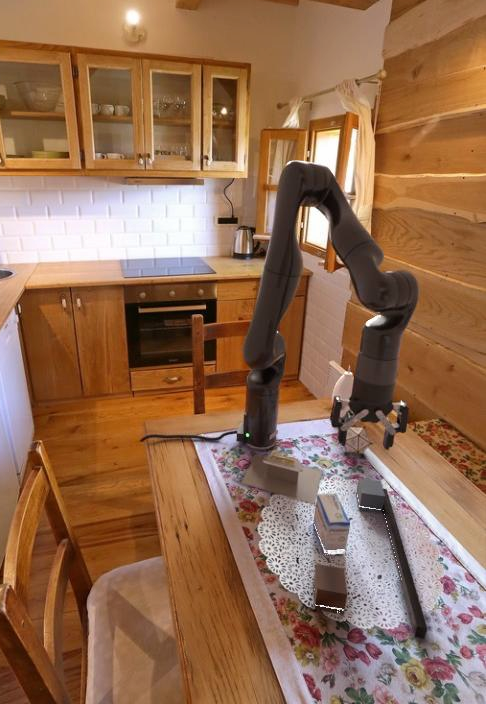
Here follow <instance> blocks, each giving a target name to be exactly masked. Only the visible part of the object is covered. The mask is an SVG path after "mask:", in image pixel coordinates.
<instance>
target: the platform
mask: <svg viewBox="0 0 486 704" xmlns="http://www.w3.org/2000/svg"><path fill="white" fill-rule="evenodd" d="M322 474H323V471H321V470H317V469H313V468H310V467H306V466H304V465H303V464H302V463H301V461H300V460H299V459H298V458H296V457H295V455H292V454H289V453H284V452H280V451H277V450H272V452H269V453H268V454H267V455H265V456H264V455H260V454H255V453H254V456H253V458H252V460H251V462H250V464H249V465H248V468H247V469H246V472H245V475H244V476H243V479H242V480H241V484H243V485H246V486H249V487H253V488H257V489H260V490H263V491H266V492H270V493H274V494H277V495H281V496H284V497H288V498H291V499H294V500H298V501H302V502H304V503H309V504H312V503H313V505H315V504H316V502H315V501H316V500H317V495H318V493H319V488H320V484H321V479H322ZM314 503H315V504H314Z"/></svg>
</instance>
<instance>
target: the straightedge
mask: <svg viewBox="0 0 486 704" xmlns="http://www.w3.org/2000/svg"><path fill="white" fill-rule="evenodd" d="M383 491H384V494H385V499H384V504H383V509H382V517H383V520H384V524H385V529H386V531H387V536H388V540H389V544H390V547H391V551H392V555H393V559H394V563H395V567H396V571H397V574H398V579H399V582H400V586H401V590H402V595H403V598H404V602H405V606H406V610H407V614H408V618H409V620H410V621H409V622H410V626H411V629H412V632H413V636H414V638H419V639H425V638H426V635H427V631H428V626H427V622H426V618H425V616H424V612H423V609H422V605H421V602H420V599H419V595H418V590H417V588H416V585H415V582H414V578H413V575H412V571H411V568H410V564H409V561H408V557H407V554H406V551H405V547H404V544H403V541H402V537H401V532H400V530H399V526H398V523H397V519H396V515H395V512H394V509H393V506H392V502H391V499H390V495H389V493H388V489H387V488H383ZM383 510H384V511H383ZM384 514H385V515H384ZM385 518H386V519H385ZM386 521H387V523H386ZM387 525H388V527H387ZM388 529H389V530H388ZM389 533H390V534H389ZM390 536H391V538H390ZM391 540H392V542H391ZM392 544H393V545H392ZM393 548H394V549H393ZM394 552H395V553H394ZM395 556H396V557H395ZM396 559H397V561H396ZM397 563H398V564H397ZM398 566H399V568H398ZM399 571H400V572H399ZM400 574H401V576H400ZM401 578H402V580H401Z"/></svg>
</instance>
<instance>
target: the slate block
mask: <svg viewBox="0 0 486 704" xmlns="http://www.w3.org/2000/svg"><path fill="white" fill-rule="evenodd" d="M383 489H384V488H383V484H382V480H377V479H371V478H370V479H369V478H361V477H358V480H357V486H356V491H357V492H356V491H355V497H356V503H357V508H358V511H361V512H368V513H375V514H382V515H383V513H382V509H383V504H384V499H385V494H384V491H383ZM357 494H358V497H357ZM358 499H359V502H358ZM359 505H360V506H364V507H370V508H376V509H381V510H376V509H369V508H362V507H359Z"/></svg>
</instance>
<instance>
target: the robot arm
mask: <svg viewBox="0 0 486 704" xmlns="http://www.w3.org/2000/svg"><path fill="white" fill-rule="evenodd" d="M301 207H304V208H315V209H316V210H317V211H319V212H320V213H321V214H322V215H323V217H325V219H326V220H327V223H328V236H329V242H330V245H331V247H332V249H333V251H334V253H335V254H336V255H337V257H338V258H339V260H340V261H341V263H342V264H343V265H344V267H345V268H346V269H347V271H348V274H349V279H350V280H351V284H352V286H353V290H354V293H355V296H356V298H357V301H358V302H359V304H360V305H361V306H362V307H364V308H365V309H366V310H367V311H370V312H372V313H378V314H377V315H376V316H374V317H373V318H371V319H369V320H368V321H366V322H365V323H364V324H363V326H362V329H361V333H360V334H361V335H360V341H359V347H358V348H359V349H358V353H357V356H356V360H355V366H354V374H353V377H354V379H353V387H352V394H351V397H350V398H349V399H342V398H340V396H335V397H334V401H333V406H332V405H331V411H330V416H329V420H330V425H331V427H332V428H334V429H335V428H336V429H338V430H337V441H338V443H339V444H340V446H341V447H344V446H345V444H346V437H347V429H348V428H349V427H352V426H354V425H355V426H356V424H357V423H358V422H359V421H360V423H372V424H378V423H380V422H381V424H382V426H384V433H383V439H382V446H383V449H384V450H385V451H389V450H390V448H393V446H394V442H395V436H396V434H399V433H400V434H405V433H406V432H407V428H408V421H409V412H410V408H409V407H408V404H407V403H406V402H405V400H404V399H401V400H399V401H398V402H393V399H394V394H395V388H396V382H397V378H398V375H399V358H400V353H401V347H402V342H403V341H402V340H403V335H404V333H405V332H406V330H407V328H408V326H409V324H410V321H411V319H412V317H413V316H414V313H415V311H416V308H417V306H418V303H419V299H420V285H419V281H418V279H417V277H416V275H414V274H413V273H412V272H411V271H409V270H405V269H396V270H387V271H381V270H380V269H379V268H380V267H381V265H382V264H383V262H384V259H385V253H384V251H383V249H382V248H381V246H380V245H379V243H378V241H376V240H375V238H374V237H373V236H372V235H371V234H370V233H369V231H368V230H367V229H366V227H365V226H364V225H363V223H362V222H361V221H360V220H359V218H358V217H357V215H356V213H355V211H354V210H353V208H352V206H351V205H350V203H349V201H348V199H347V198H346V195H345V193H344V192H343V189H342V187H341V186H340V183H339V181H338V180H337V178H336V176H335V174H334V172H333V171H332V170H331V169H330V168H329V167H328V166H327V165H324V164H321V163H318V162H317V163H316V162H311V161H304V160H291V161H289V162H287V163H286V164H285V166H284V167H283V169H282V171H281V173H280V175H279V178H278V183H277V188H276V196H275V203H274V210H273V221H272V224H271V225H272V226H271V231H270V235H269V236H270V237H269V242H268V245H267V246H268V248H267V250H266V256H265V259H264V264H263V268H262V272H261V276H260V280H259V281H260V282H259V288H258V292H257V297H256V299H255V300H256V301H255V306H254V310H253V314H252V317H251V321H250V324H249V327H248V330H247V333H246V336H245V338H244V342H243V345H242V358H243V361H244V363H245V365H246V366H247V367H248V369H250V371H249V373H248V374H247V377H246V382H245V401H244V413H243V422H238V427H237V429H236V430H230V431H226V432H223V433H222V434H221V435H219V436H217V437H207V436H202V435H196V434H157V433H156V434H154V433H153V434H147V435H145V436H143V437H141V438H140V440H139V442H140V443H142V442H145V441H146V440H147V439H151V438H152V439H153V438H157V439H158V438H160V439H198V440H203V441H208V442H209V441H211V442H215V441H216V442H217V441H220V440H222V439H224V438H225V437H227V436H230V435H231V436H232V435H236V440H235V441H236V442H238V443H242V445H243V446H247V447H248V448H250V449H253V450H256V451H266V450H270V449H273V448H274V447H275V445H276V443H277V435H279V429H278V420H279V419H278V417H279V404H280V392H281V385H282V381H283V379H284V376H285V369H286V362H287V351H288V350H287V349H288V348H287V342H286V340H285V338H284V336H283V334H282V333H280V331H278V330H279V327H280V324H281V322H282V321H283V319H284V317H285V315H286V314H287V312H288V310H289V308H290V306H291V305H292V303H293V301H294V299H295V297H296V294H297V292H298V289H299V286H300V283H301V279H302V275H303V270H304V259H303V255H302V250H301V247H300V244H299V240H298V236H297V224H298V218H299V214H300V213H299V212H300V210H301ZM345 406H349V408H350V409H349V410H348V411H347V412H346V414H345V415H344V416H343V417H342V418H341V417H340V412H341V410H343V409H344V408H345ZM393 410H395V414H396V422H395V423H392V421H391V420H390V419H389V417H388V416H389V415H390V414H391V413H392V412H393Z"/></svg>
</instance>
